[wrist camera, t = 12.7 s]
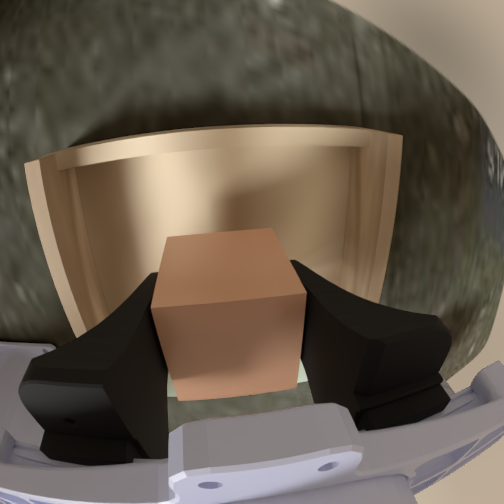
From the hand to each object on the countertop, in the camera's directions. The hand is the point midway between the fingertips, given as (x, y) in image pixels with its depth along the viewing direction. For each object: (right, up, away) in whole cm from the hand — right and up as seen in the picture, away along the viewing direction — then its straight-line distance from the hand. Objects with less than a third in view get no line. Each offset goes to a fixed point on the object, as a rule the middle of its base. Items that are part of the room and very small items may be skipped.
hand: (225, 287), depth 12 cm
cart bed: (-1, +2, +5) cm, 5 cm away
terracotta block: (0, 0, +2) cm, 2 cm away
